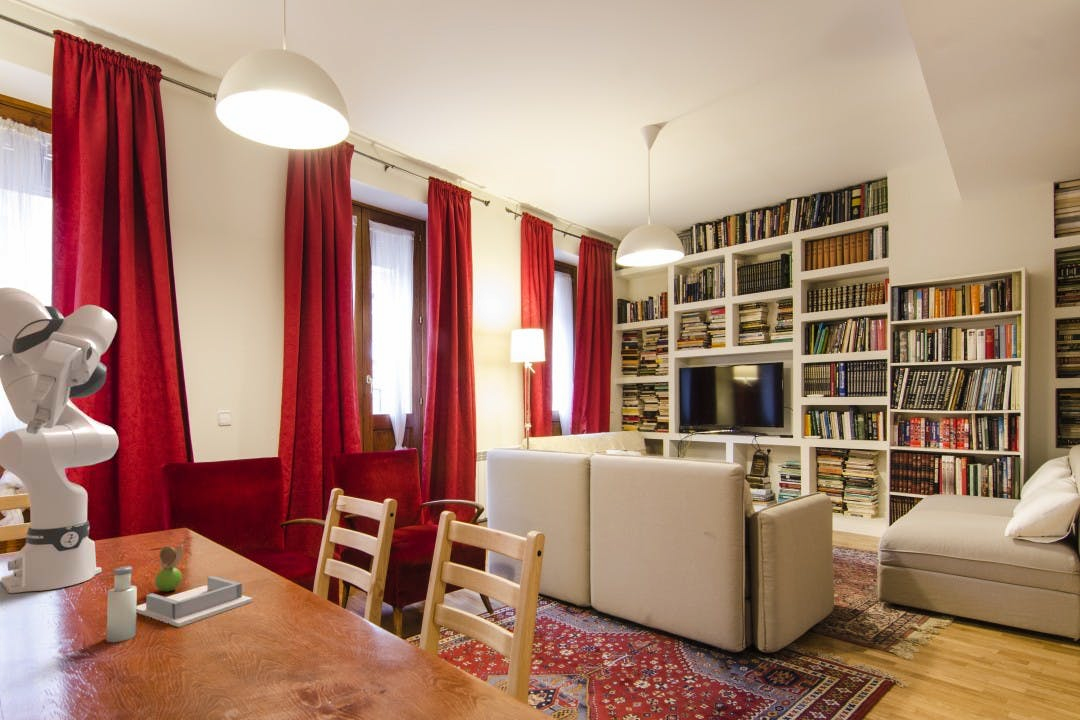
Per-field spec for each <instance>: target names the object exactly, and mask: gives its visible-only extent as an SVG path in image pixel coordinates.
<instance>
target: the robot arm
mask: <svg viewBox="0 0 1080 720" xmlns="http://www.w3.org/2000/svg"><path fill="white" fill-rule="evenodd" d="M117 329H118V322H117V319H116V318H115V317H114V316H113V315H112V314H111V313H110V312H109V311H108V310H106V309H104V308H103V307H100V306H98V305H94V304H86V305H82V306H80V307H79V308H78V309H76V310H75V311H73V312H72V313H70V315H67V316H65V317H64V316H63V314H62V313H61V311H59V310H58V308H56V307H54V306H51V305H49V306H48V305H44V304H43V303H42V302H41V301H40V300H39V299H38V298H37V297H35V296H34V295H32V294H30V293H29V292H26V291H24V290H22V289H19V288H16V287H15V288H14V287H0V356H2V357H1V358H0V383H1V385H2V388H3V391H4V393H5V397H6V398H7V401H8V403H9V405H10V406H11V408H12V409H11V410H12V411H13V413H14V415H15V417H16V418H17V419H18V420H19V421H20V422H22V423H23V424H25V425H27V426H26V427H23V428H19V429H15V430H12V431H8V432H6V433H4V435H2V437H1V438H0V466H1V468H3V469H4V470H6V471H7V472H9V473H11V474H13V475H14V476H15V477H17V478H18V479H19V480H20V481H21V482H22V484H23V485H24V487H25V489H26V491H27V494H28V498H29V509H30V511H29V512H30V513H29V514H30V515H29V516H30V526H29V527H28V528H27V533H26V535H25V536H26V537H25V545H24V546H23V547H22V548H20V549H21V550H19V552H18V553H16V555H15V556H14V558H13V560H12V559H11V560H9V561H8V562H7V571H9V572H11V571H12V573H9V574H6V575H3V576H2V577H0V583H1V584H2V586H3V587H4V588H5V589H6V591H7V593H9V594H16V593H25V592H36V591H49V590H54V589H55V590H56V589H61V588H65V587H70V586H74V585H78V584H80V583H81V584H82V583H84V582H86V581H89V580H91V579H92V578H93V577H95V576H96V575H97V574H100V573H102V567H100V566H97V561H96V560H97V559H96V544H95V541H94V540H93V539H91V538H89V535H90V521H89V520H88V501H89V498H88V492H87V490H86V489H85V488H84V487H83V486H81V485H80V484H78V483H75V482H71V481H70V480H69V479H68V478H67V475H66V469H68V468H69V469H70V468H71V469H72V468H78V467H86V466H93V465H96V464H99V463H103V462H105V461H108V460H110V459H112V458H113V457H114V455H115V454H116V453H117V450H118V448H119V443H120V442H119V436H118V434H117V432H116V430H115V429H113V427H112V426H109V425H108V424H107V425H106V424H104V423H102V422H99V421H97V420H94V419H93V418H91V417H90V416H88V415H87V414H86V413H84V412H83V411H82V410H81V409H79V408H78V406H76V405H75V404H74V403H73V402H72V401H71V400H70V399H81V398H87V397H90V396H93V395H94V394H95V393H97V392H98V391H100V390H101V388H103V386H104V385H105V382H106V380H107V376H108V375H107V374H108V373H107V371H108V370H107V366H106V365H105V364H104V363H102V362H101V356H102V355H104V354H105V353H106V352H107V350H108V349H109V347H110V345H111V344H112V342H113V339H114V338H115V335H116V333H117Z"/></svg>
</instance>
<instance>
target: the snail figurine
mask: <svg viewBox="0 0 1080 720" xmlns="http://www.w3.org/2000/svg"><path fill="white" fill-rule="evenodd" d="M184 542H185V540H184V539H181V540H179V545H177V546H176V549H175V548H174V547H173V546H171V545H170V546H169V545H167V546H164V547H163V548H162V549H161V550H160V552H159V559H160V562H159V565H160V567H161V568H163V569H161V570H160V571H159V572H158V573H157V574H156V576H155V580H154V585H155V587H156V588H157V589H158V590H159V591H162V592H165V593H166V592H171V591H173V590H175V589H177V588H178V587H179V586H180V584H181V583H182V580H183V576H182V575H183V574H182V572H181V570H179V569H178V568H177V567H178V565H179V564H180V562H181V559H182V555H183V550H184V544H182V543H184Z"/></svg>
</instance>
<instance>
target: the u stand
mask: <svg viewBox="0 0 1080 720" xmlns="http://www.w3.org/2000/svg"><path fill="white" fill-rule="evenodd" d="M242 588H243V583H241V582H239V581H233V580H230V579H226V578H222V577H218V576H215V575H212V576H211V575H210V576H209V577H207V584H206V585H203V586H199V587H195V588H193V589H189V590H185V591H181V592H178V593H176V594H171V595H169V596H166V597H165V596H163V595H159V594H156V593H153V592H152V593H149V594H145V595H146V598H145V599H146V602H145V603H142V604H139V605H136V614H140V615H142V616H145V617H148V616H149V617H148V618H151V617H152V619H154V620H156V621H159V620H160V621H159V622H162V621H163V622H162V623H165V624H168V623H169V625H172V626H174V627H176V628H181V627H184V626H187V625H189V624H191V623H195V622H198V621H201V620H204V619H207V618H210V617H212V616H215V615H218V614H221V613H224V612H227V611H230V610H232V609H236V608H238V607H242V606H244V605H246V604H247V605H248V604H250V603H253V602H254V601H253V599H254V598H253V597H250V596H246V595H242V594H243V589H242Z"/></svg>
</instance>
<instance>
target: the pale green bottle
mask: <svg viewBox="0 0 1080 720" xmlns="http://www.w3.org/2000/svg"><path fill="white" fill-rule="evenodd" d="M112 571H113V572H112V573H113V575H114V584H113V585H114V587H113V588H111V589H109V590H108V591H107V611H106V612H107V613H106V642H107V643H119V642H124V641H127V640H131V639H132V638H135V636H137V612H136V606H138V605H137V601H138V599H137V593H138V587H137V586H136V585H131V584H132V583H131V582H132V573H133V566H130V565H126V566H125V565H124V566H119V567H116V568H114V569H113V570H112Z"/></svg>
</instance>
